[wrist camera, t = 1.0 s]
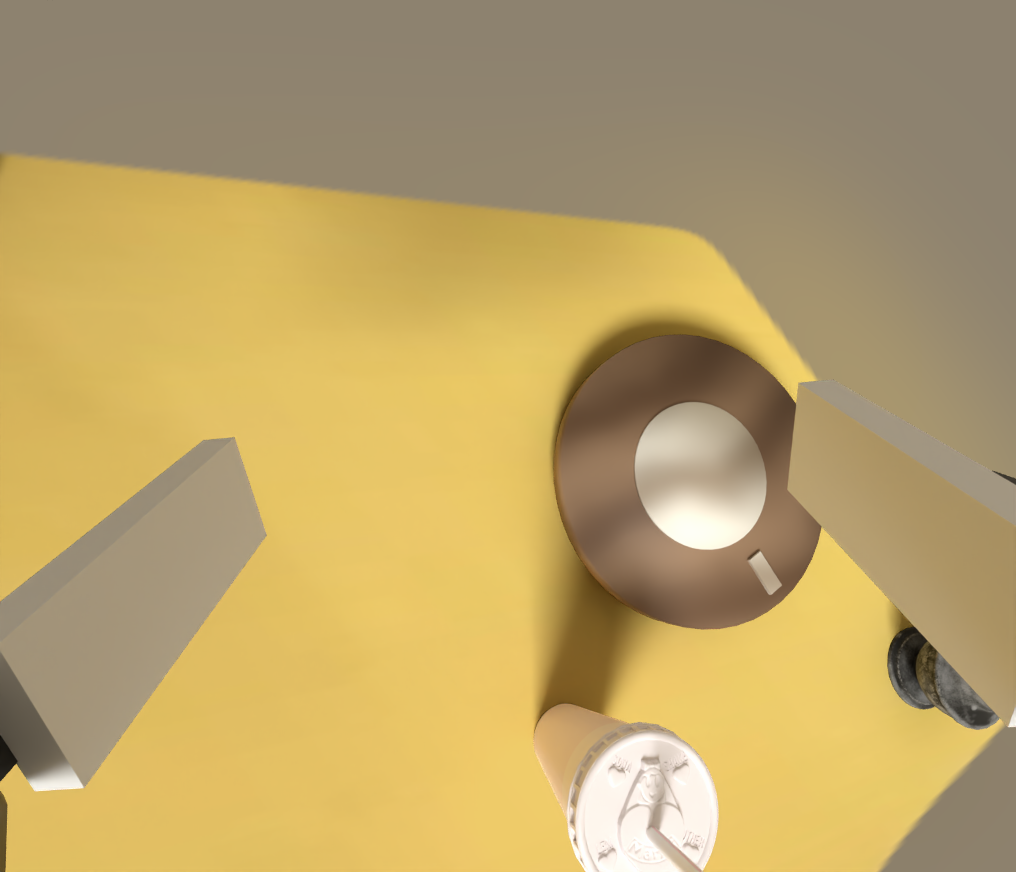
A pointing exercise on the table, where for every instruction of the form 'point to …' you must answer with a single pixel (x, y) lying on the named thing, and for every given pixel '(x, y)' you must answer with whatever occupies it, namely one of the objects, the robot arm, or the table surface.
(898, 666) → the salt shaker
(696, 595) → the turntable
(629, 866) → the smoothie
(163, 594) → the robot arm
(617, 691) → the table surface
